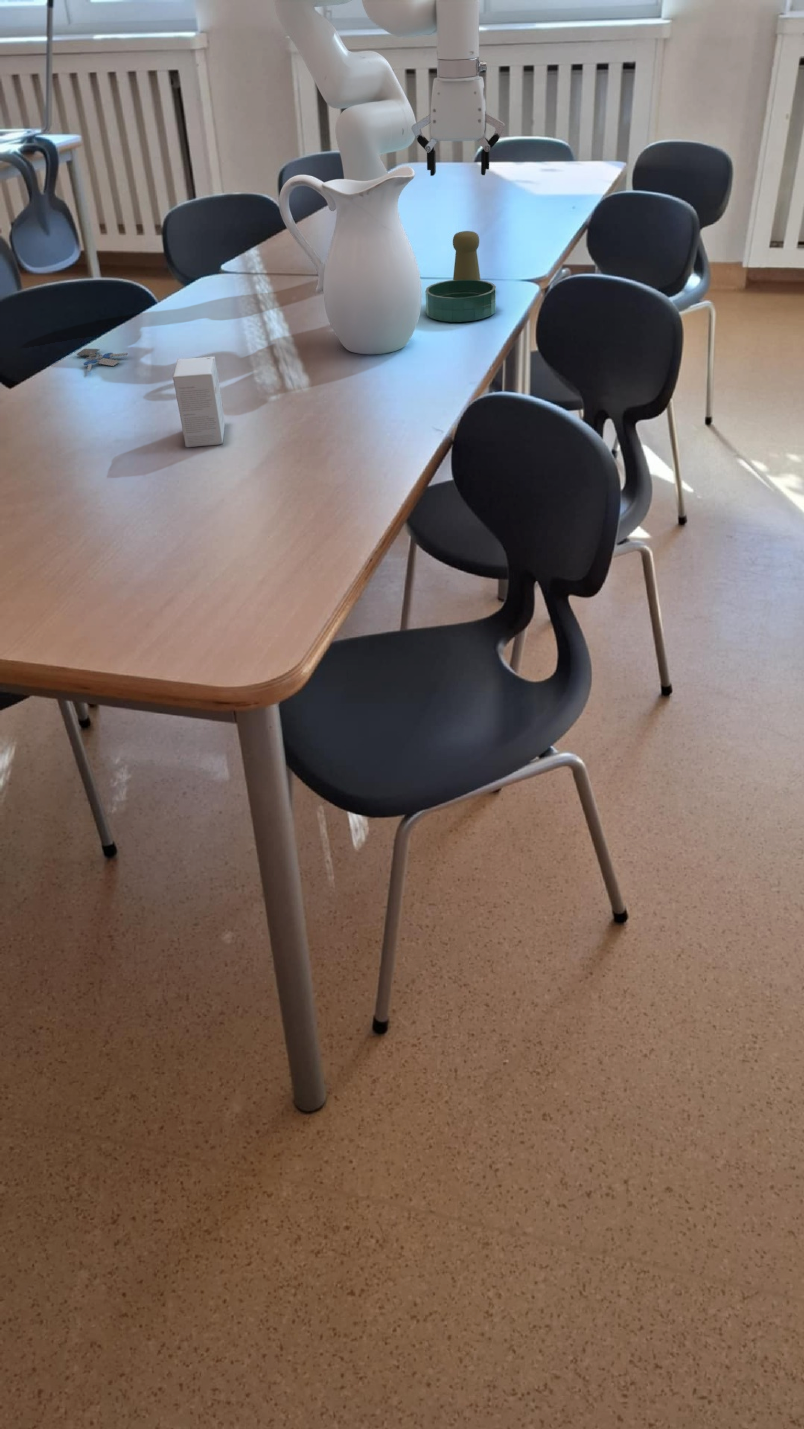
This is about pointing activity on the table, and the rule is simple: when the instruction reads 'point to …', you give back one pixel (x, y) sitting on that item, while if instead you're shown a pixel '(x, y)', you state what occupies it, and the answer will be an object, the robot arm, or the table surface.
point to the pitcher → (364, 261)
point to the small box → (199, 401)
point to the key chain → (99, 357)
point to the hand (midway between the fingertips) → (458, 174)
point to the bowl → (460, 300)
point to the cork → (466, 255)
